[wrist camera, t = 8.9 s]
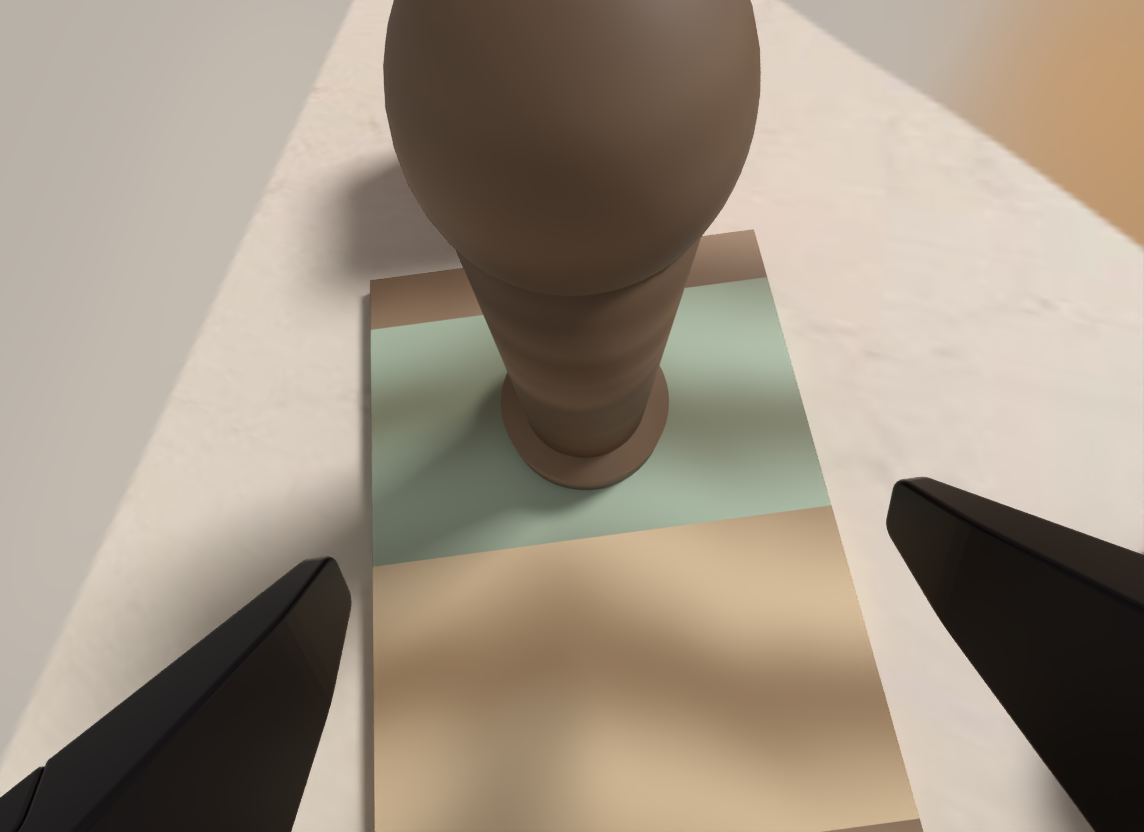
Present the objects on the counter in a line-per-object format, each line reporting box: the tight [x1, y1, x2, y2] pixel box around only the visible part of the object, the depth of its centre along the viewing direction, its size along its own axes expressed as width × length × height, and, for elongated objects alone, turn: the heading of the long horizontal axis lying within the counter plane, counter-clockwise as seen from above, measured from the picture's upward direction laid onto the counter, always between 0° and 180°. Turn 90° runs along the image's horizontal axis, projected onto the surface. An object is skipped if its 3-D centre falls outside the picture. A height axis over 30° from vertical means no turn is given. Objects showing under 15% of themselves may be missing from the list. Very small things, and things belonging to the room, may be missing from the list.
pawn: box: [383, 0, 760, 490], centre depth 10 cm, size 5×5×13 cm
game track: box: [370, 230, 923, 832], centre depth 15 cm, size 24×14×1 cm, turn 7°
